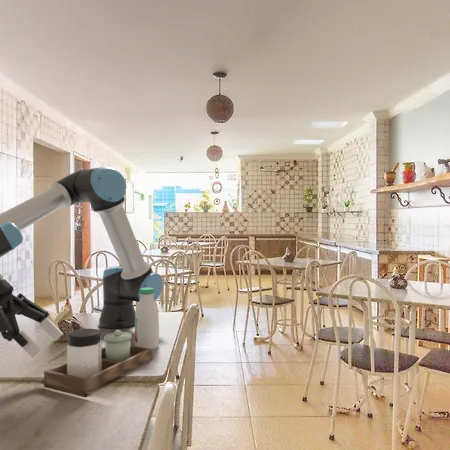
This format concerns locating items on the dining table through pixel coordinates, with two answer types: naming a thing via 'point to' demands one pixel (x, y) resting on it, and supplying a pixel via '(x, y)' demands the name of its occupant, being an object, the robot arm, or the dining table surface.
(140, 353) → the caddy
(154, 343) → the milk bottle
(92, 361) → the jar
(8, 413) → the dining table surface
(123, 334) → the sugar pot
